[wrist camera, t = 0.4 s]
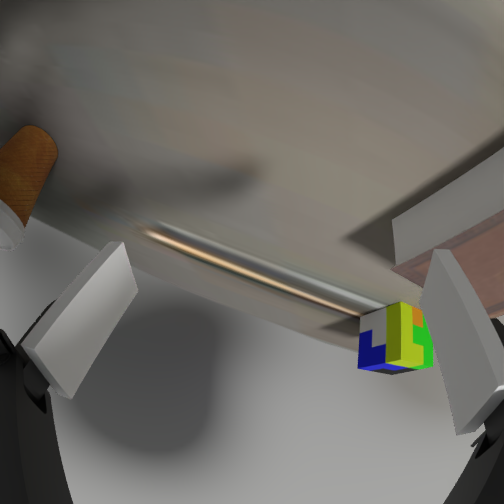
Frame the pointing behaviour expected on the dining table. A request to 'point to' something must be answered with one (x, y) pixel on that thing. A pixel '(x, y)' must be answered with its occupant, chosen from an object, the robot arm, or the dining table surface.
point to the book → (459, 232)
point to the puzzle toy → (395, 340)
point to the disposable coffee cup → (22, 180)
